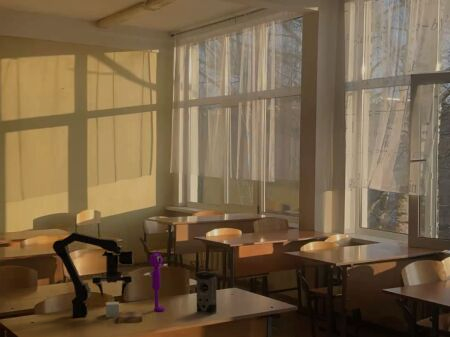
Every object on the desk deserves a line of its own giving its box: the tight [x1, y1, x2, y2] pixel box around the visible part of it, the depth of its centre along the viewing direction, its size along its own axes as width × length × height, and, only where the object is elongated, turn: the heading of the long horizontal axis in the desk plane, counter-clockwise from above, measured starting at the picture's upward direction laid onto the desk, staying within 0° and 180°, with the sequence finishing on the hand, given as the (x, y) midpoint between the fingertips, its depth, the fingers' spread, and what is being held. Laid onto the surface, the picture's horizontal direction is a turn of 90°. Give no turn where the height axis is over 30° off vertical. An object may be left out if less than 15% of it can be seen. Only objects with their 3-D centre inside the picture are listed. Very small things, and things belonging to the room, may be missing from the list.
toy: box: [143, 250, 168, 312], centre depth 308 cm, size 34×8×30 cm, turn 168°
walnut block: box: [117, 310, 143, 324], centre depth 290 cm, size 11×10×3 cm
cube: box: [105, 301, 120, 318], centre depth 299 cm, size 6×6×6 cm
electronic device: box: [195, 270, 218, 315], centre depth 303 cm, size 9×6×20 cm, turn 62°
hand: (112, 296), depth 299 cm, fingers open, 9 cm apart
